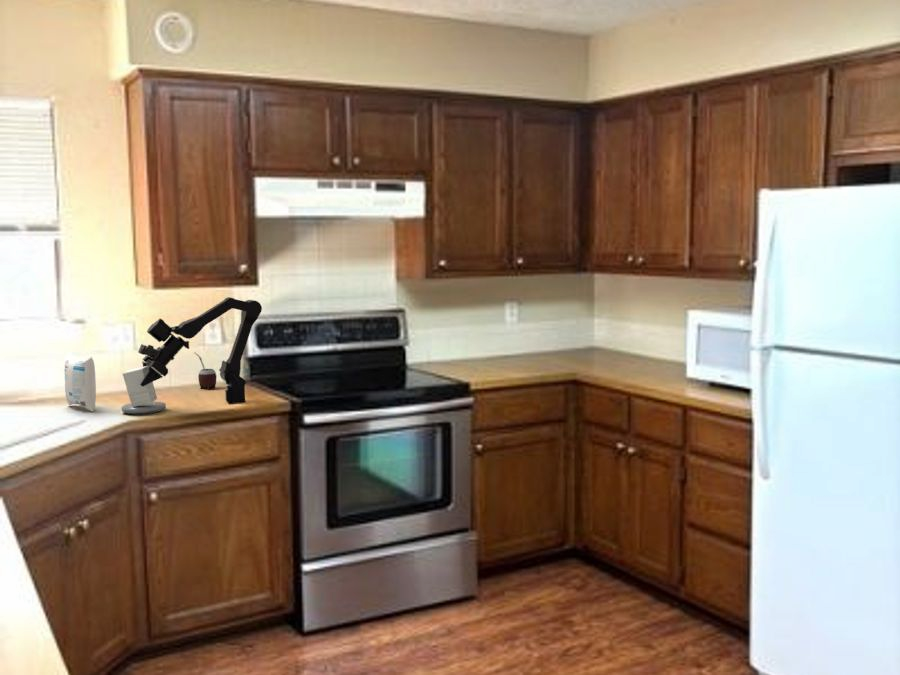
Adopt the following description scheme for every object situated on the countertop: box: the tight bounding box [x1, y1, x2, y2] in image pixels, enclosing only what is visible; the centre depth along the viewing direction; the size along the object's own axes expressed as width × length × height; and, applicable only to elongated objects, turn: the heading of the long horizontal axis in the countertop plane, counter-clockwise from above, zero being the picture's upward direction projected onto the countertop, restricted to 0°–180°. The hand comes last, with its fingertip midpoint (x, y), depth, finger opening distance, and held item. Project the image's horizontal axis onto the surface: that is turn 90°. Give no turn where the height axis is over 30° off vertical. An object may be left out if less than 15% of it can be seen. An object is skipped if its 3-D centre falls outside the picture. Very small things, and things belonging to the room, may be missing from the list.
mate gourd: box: [193, 352, 217, 391], centre depth 364 cm, size 8×8×15 cm
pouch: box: [64, 352, 97, 413], centre depth 326 cm, size 8×19×20 cm, turn 44°
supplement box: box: [122, 366, 158, 407], centre depth 319 cm, size 7×7×13 cm
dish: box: [121, 401, 167, 415], centre depth 320 cm, size 15×15×2 cm
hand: (139, 383), depth 318 cm, fingers closed on supplement box, 9 cm apart
